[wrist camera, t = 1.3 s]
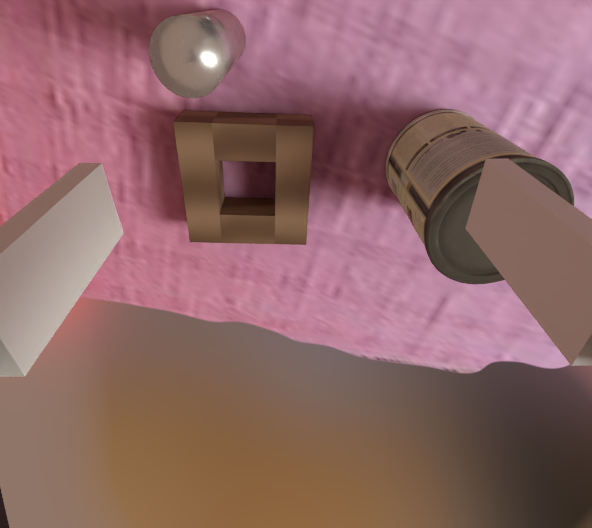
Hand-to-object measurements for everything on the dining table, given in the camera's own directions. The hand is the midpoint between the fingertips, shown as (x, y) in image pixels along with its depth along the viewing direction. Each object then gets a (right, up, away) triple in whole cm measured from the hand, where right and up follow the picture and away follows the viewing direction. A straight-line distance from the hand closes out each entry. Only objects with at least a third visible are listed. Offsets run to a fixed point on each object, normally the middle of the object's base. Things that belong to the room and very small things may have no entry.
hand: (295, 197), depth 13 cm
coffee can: (+14, +8, +25) cm, 30 cm away
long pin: (-6, +17, +19) cm, 26 cm away
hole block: (-5, +7, +26) cm, 27 cm away
